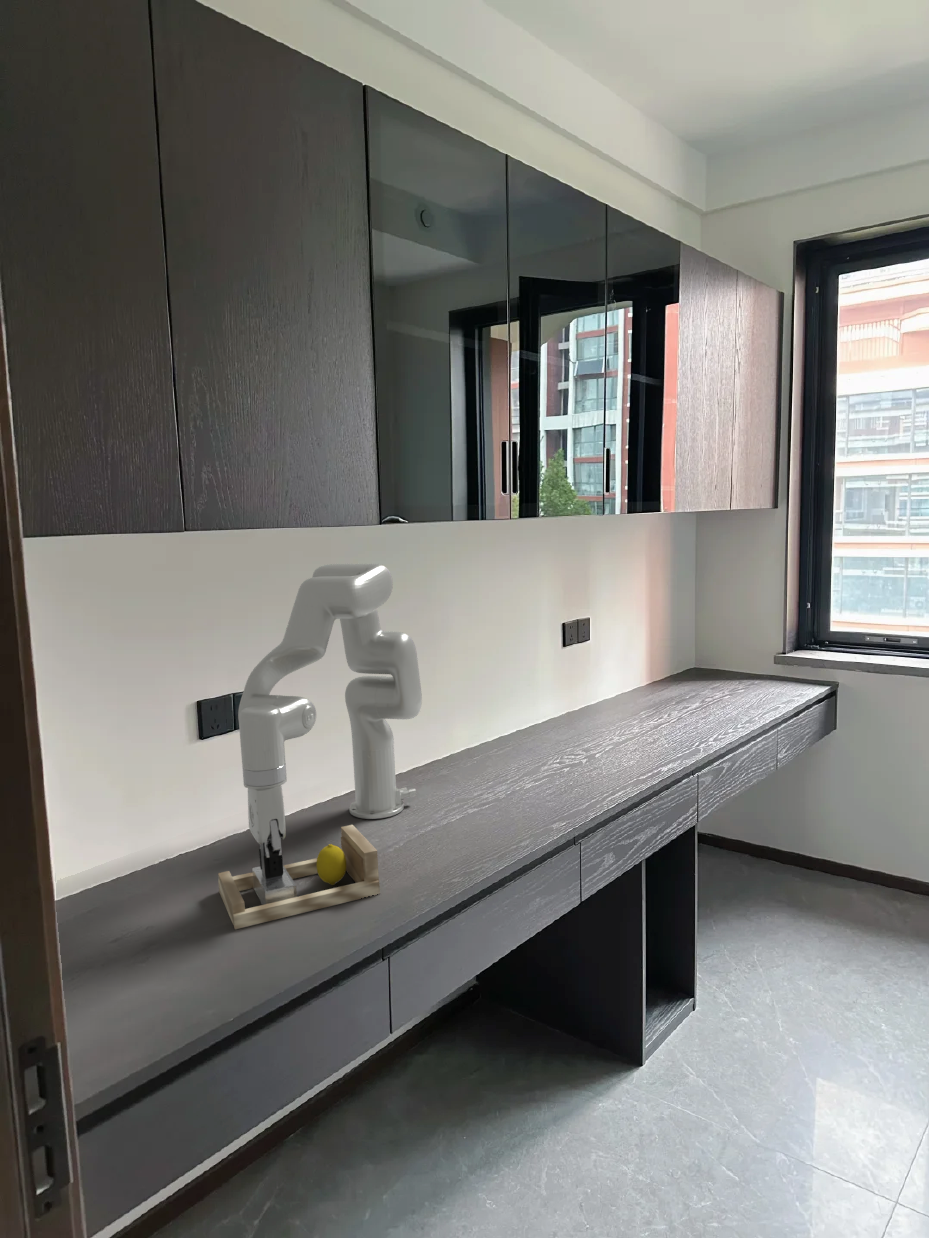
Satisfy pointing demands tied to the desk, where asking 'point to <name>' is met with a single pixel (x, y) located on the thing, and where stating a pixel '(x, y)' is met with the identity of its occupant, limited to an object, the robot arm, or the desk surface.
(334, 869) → the lemon
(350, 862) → the press frame
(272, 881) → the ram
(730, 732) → the desk surface
